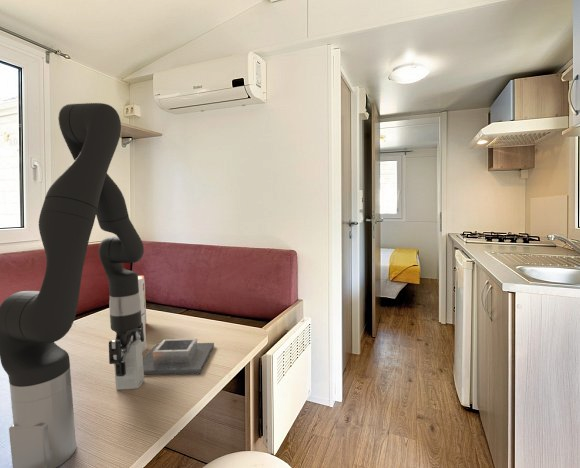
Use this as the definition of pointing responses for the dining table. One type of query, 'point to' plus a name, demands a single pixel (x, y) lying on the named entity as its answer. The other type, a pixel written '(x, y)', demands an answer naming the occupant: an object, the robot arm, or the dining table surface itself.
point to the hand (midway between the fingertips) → (129, 367)
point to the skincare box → (132, 368)
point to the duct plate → (177, 357)
